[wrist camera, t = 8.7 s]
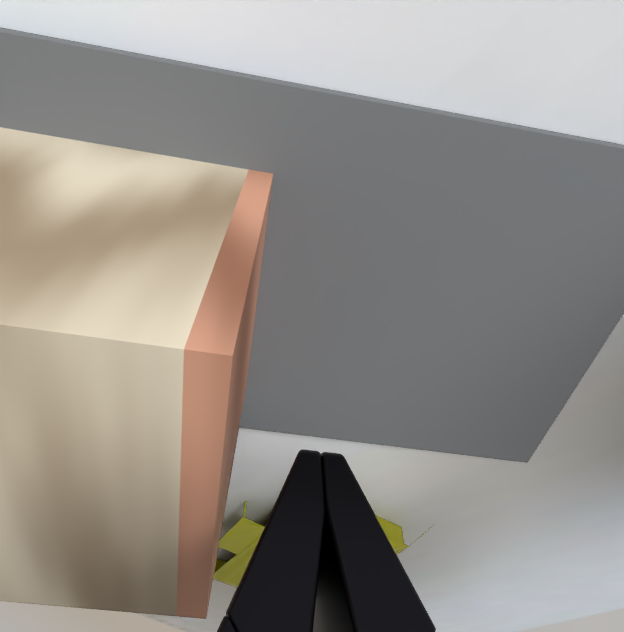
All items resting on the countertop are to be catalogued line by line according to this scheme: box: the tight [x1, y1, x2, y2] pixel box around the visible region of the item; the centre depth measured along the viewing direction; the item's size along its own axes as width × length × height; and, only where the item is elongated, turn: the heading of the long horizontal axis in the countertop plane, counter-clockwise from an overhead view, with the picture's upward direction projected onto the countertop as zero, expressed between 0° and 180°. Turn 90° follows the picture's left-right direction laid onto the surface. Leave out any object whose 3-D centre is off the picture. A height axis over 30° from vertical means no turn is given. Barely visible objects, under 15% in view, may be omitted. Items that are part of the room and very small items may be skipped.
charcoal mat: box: [0, 28, 624, 462], centre depth 14 cm, size 25×11×1 cm, turn 80°
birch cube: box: [0, 127, 273, 619], centre depth 11 cm, size 7×7×7 cm
